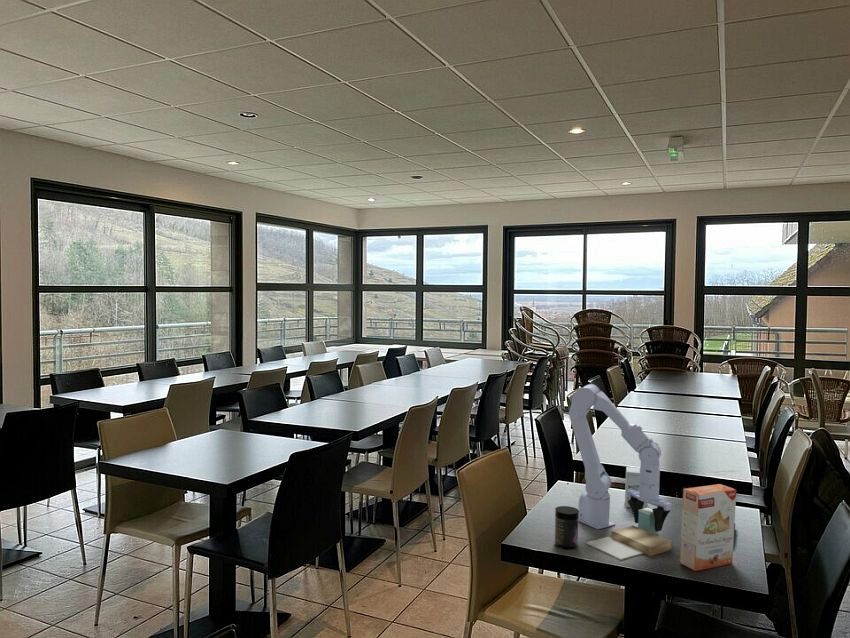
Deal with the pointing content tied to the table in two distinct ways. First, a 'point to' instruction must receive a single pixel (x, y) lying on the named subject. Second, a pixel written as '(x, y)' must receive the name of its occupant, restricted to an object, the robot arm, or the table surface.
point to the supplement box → (632, 483)
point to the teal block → (646, 520)
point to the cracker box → (707, 526)
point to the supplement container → (566, 527)
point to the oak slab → (641, 540)
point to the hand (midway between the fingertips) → (647, 526)
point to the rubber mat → (614, 548)
